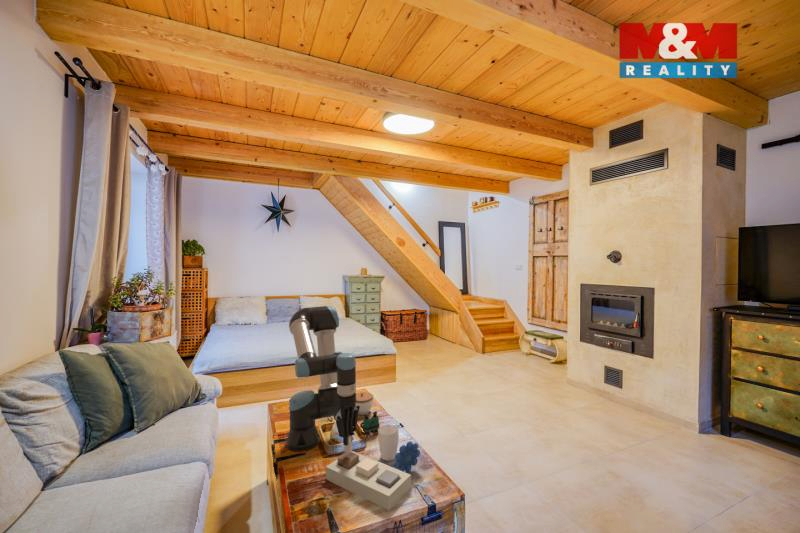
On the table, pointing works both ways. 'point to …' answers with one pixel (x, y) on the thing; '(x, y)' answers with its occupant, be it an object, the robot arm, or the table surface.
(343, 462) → the walnut key
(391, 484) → the slate key
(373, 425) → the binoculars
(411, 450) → the grapes
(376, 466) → the ivory key
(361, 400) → the lidded bowl
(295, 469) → the table surface
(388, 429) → the cup
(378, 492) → the key panel
